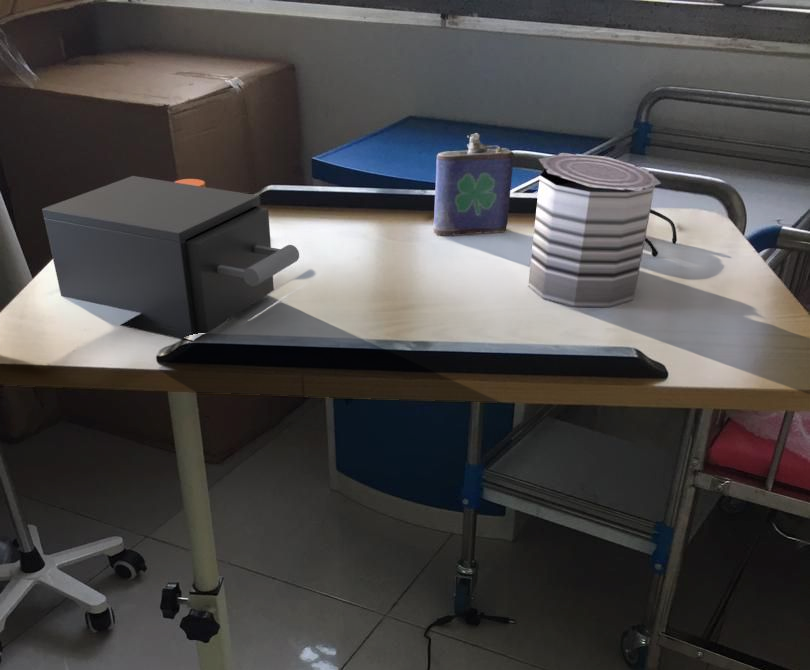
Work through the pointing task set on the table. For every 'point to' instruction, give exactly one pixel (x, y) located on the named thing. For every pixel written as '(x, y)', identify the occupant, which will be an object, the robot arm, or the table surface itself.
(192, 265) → the pull-out drawer box
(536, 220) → the can
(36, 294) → the table surface
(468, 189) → the flask
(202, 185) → the button
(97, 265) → the grey drawer casing
